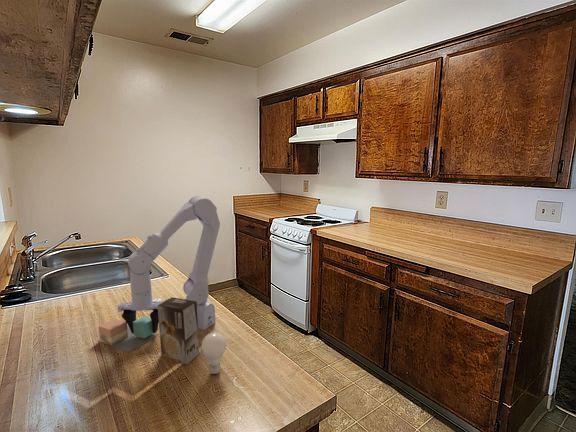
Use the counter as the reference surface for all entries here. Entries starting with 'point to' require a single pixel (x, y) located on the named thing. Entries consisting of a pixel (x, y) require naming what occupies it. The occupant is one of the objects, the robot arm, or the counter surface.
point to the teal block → (142, 327)
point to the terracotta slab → (112, 328)
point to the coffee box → (179, 329)
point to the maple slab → (113, 338)
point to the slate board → (131, 341)
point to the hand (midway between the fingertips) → (144, 331)
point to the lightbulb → (213, 350)
